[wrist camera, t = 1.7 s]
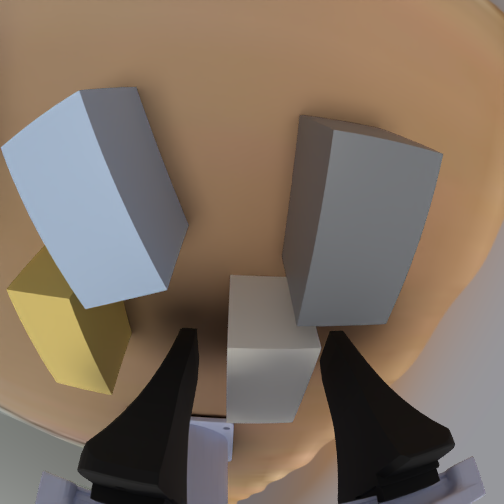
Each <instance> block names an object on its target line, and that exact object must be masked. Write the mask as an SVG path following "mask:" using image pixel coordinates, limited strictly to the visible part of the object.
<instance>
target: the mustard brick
mask: <svg viewBox="0 0 504 504" xmlns="http://www.w3.org/2000/svg"><path fill="white" fill-rule="evenodd" d="M7 292H8V294H9V296H10V299H11V301H12V303H13V305H14V307H15V310H16V312H17V314H18V316H19V318H20V320H21V322H22V324H23V326H24V328H25V330H26V332H27V334H28V335H29V337H30V339H31V341H32V343H33V344H34V346H35V348H36V350H37V351H38V353H39V355H40V357H41V358H42V360H43V362H44V363H45V365H46V366H47V368H48V370H49V371H50V373H51V374H52V376H53V377H54V379H55V380H56V382H57V383H61V384H65V385H68V386H72V387H76V388H81V389H85V390H89V391H94V392H99V393H104V394H109V395H112V393H113V390H114V386H115V383H116V380H117V377H118V373H119V370H120V367H121V364H122V361H123V357H124V354H125V351H126V348H127V345H128V342H129V339H130V336H131V334H132V332H131V329H130V325H129V321H128V318H127V314H126V310H125V306H124V302H123V301H119V302H114V303H110V304H106V305H101V306H97V307H93V308H88V309H85V308H84V306H83V305H82V304H81V302H80V301H79V299H78V298H77V296H76V295H75V293H74V292H73V290H72V289H71V287H70V286H69V284H68V283H67V281H66V279H65V278H64V276H63V275H62V273H61V271H60V270H59V268H58V266H57V265H56V263H55V261H54V260H53V258H52V256H51V255H50V253H49V251H48V249H47V248H46V246H44V247H43V248H42V249H41V250H40V251H39V252H38V253H37V254H36V255H35V256H34V258H33V259H32V260H31V261H30V262H29V263H28V264H27V265H26V267H25V268H24V269H23V270H22V271H21V272H20V274H19V275H18V276H17V277H16V278H15V279H14V281H13V282H12V283H11V284H10V286H9V287H8V288H7Z"/></svg>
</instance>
